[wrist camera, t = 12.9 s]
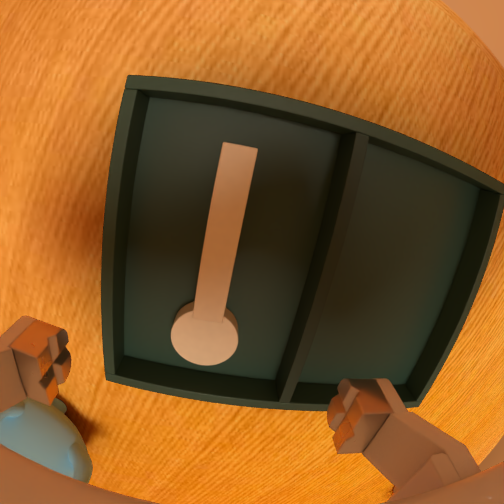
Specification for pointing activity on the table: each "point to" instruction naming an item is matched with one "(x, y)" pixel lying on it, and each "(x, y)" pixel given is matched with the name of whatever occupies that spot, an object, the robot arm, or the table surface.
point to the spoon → (217, 265)
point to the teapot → (46, 437)
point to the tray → (288, 247)
